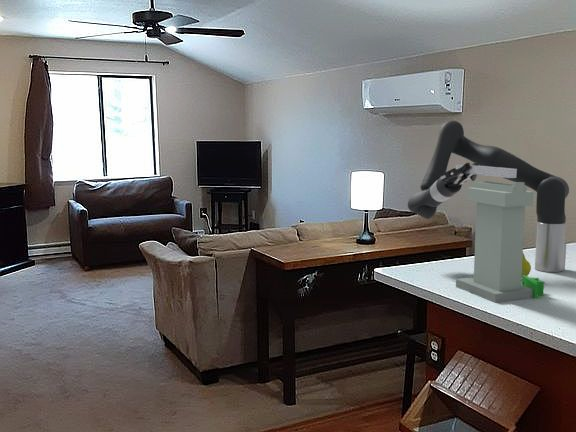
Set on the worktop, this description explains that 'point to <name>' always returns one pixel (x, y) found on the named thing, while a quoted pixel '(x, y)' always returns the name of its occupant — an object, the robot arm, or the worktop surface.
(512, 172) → the lever bar
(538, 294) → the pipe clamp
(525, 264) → the fruit
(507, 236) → the post
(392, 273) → the worktop surface
